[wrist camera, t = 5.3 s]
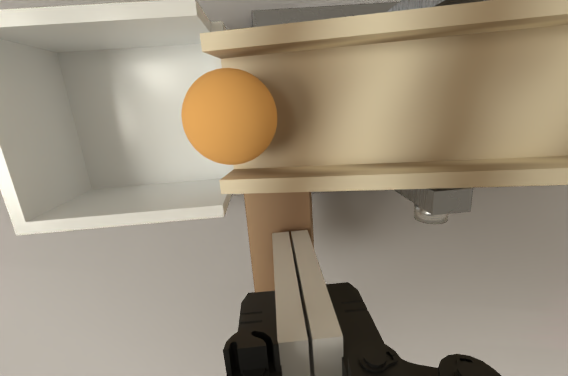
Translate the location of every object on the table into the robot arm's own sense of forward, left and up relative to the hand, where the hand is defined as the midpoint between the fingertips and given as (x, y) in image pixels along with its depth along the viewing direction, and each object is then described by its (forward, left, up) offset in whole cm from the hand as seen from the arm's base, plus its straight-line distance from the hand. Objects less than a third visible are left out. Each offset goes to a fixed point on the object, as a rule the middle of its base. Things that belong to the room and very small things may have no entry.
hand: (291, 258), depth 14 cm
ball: (-7, -1, +2) cm, 7 cm away
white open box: (-7, -8, -7) cm, 12 cm away
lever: (-4, +7, -1) cm, 8 cm away
